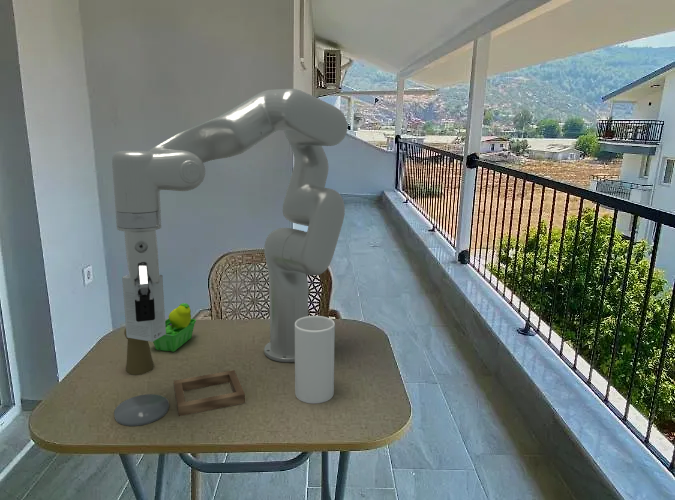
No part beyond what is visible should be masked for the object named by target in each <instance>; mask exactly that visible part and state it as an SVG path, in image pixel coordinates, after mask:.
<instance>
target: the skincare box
mask: <svg viewBox="0 0 675 500" xmlns="http://www.w3.org/2000/svg"><path fill="white" fill-rule="evenodd" d="M121 278H122V279H121V280H122V281H121V282H122V290H123V291H122V292H123V305H124V306H123V307H124V319H125V328H126V336H127V338H133V339H139V340H145V341H148V342H151V343H153V341H155V340H156V339H158V338H160V337H162V336H163V335H165V334H166V326H165V321H166V315H165V314H166V313H165V312H166V311H165V310H166V309H165V298H164V297H165V295H164V280H163V279H164V278H163V275H162V274H159V278H160V282H159V283H158V284H156V282H155V283H153V282H152V280H151V282H152V295H153V298H154V308H155V319H154V320H150V321H141V322H137V321H136V311H135V300H136V288H135V286H134V285H132V284H131V280H130V275H129V274H126V275H124V276H122V277H121ZM147 281H148V282H149V280H147ZM137 283H140V281H137ZM148 288H149V286H148ZM139 289H140V287H139ZM149 299H150V298H149ZM139 300H140V299H139ZM127 338H126V339H127Z"/></svg>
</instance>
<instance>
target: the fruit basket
mask: <svg viewBox="0 0 675 500" xmlns="http://www.w3.org/2000/svg"><path fill="white" fill-rule="evenodd" d="M196 321H197V319H195V318H192V311H191V308H190V305H189V304H188V303H187V302H185V303H184V302H182V303H180V304H179V306H177V307H176V308H174V309H172V310H171V311H170V312H169V314H168V318H167V319H165V326H166V334H165V335H163V336H162V337H160V338H158V339H156V340H155V341H153V342H152V343H153V345H154V348H155V350H156V351H164V352H176V351H177V350H178V349H179V348H181V347H182V346H183V345H184V344H185V343H187V342H188V341H189V340H191V339H192V336H193V333H194V329H195V328H194V327H195V324H196Z"/></svg>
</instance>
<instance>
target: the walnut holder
mask: <svg viewBox="0 0 675 500" xmlns="http://www.w3.org/2000/svg"><path fill="white" fill-rule="evenodd" d="M228 383H229V385H230V388H231V391H232V392H229V393H225V394H218V395H214V396H208V397H203V398H197V399H193V400H188V401H187V400H186V398H185V391H190V390H197V389H201V388H206V387H212V386H217V385H218V386H219V385H224V384H228ZM173 391H174V392H173V393H174V397H175V401H176V408H177V414H178V417H182V416H189V415H194V414H198V413H203V412H208V411H213V410H218V409H222V408H228V407H232V406H237V405H243V404H246V394H245V391H244V389H243V386H242V384H241V381H240V380H239V377H238V375H237V373H236V371H235V370H234V369H233V370H227V371H221V372H215V373H210V374H204V375H198V376H192V377H187V378H181V379H175V380H173Z"/></svg>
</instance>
